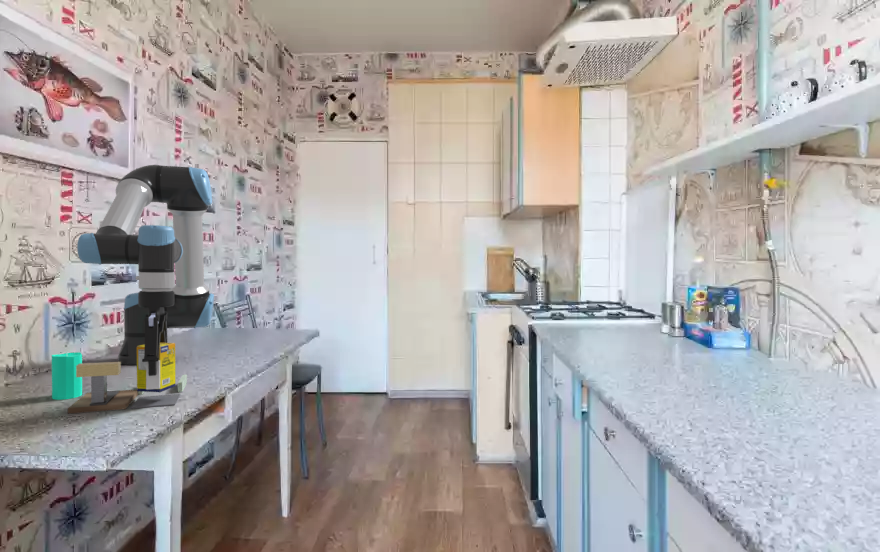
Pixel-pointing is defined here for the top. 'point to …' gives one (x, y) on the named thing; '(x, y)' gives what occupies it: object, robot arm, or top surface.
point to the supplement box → (165, 368)
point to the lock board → (113, 402)
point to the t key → (98, 377)
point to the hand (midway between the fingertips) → (156, 384)
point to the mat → (156, 401)
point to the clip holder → (181, 384)
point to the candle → (66, 376)
